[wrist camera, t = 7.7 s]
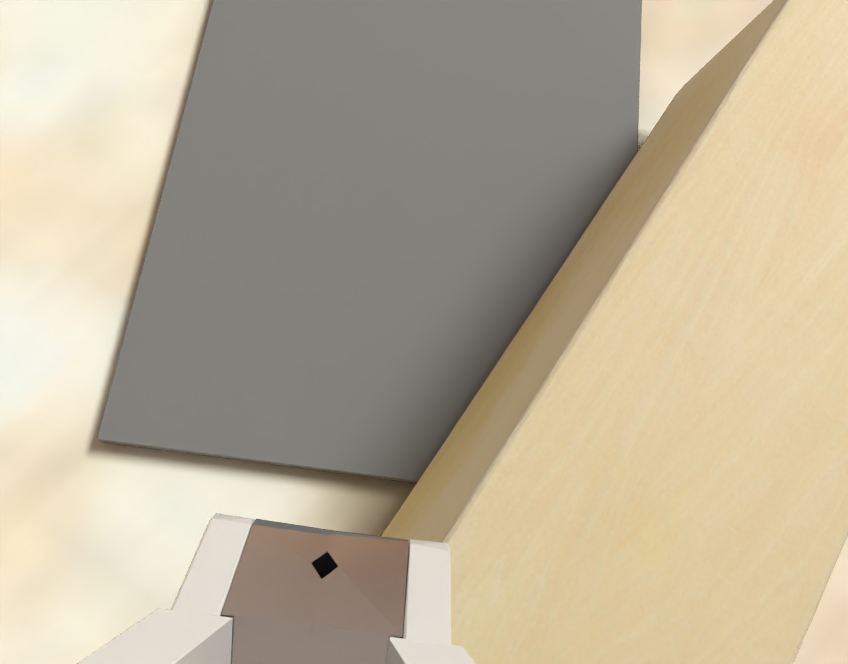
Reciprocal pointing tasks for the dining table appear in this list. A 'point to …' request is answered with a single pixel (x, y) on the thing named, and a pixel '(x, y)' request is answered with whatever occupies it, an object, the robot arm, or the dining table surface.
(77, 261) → the dining table surface
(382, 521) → the dining table surface
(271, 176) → the mat
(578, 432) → the wooden rectangular block
